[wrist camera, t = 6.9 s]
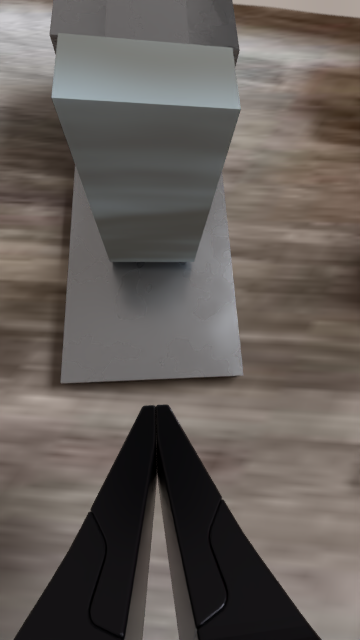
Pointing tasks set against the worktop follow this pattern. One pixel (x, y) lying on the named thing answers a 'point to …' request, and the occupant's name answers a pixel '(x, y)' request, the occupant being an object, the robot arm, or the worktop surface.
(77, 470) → the worktop surface
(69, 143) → the shaft
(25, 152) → the worktop surface
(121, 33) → the grey long blocky piece
